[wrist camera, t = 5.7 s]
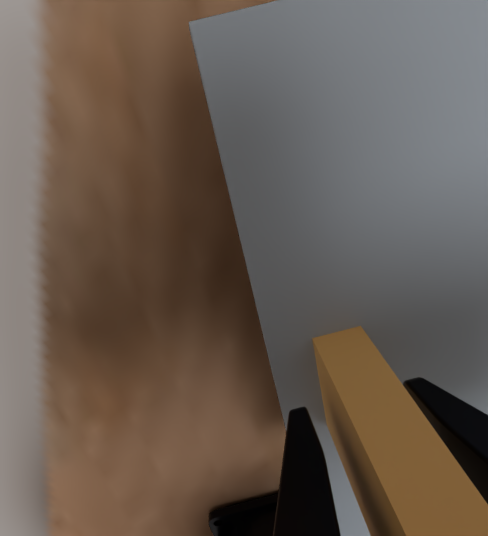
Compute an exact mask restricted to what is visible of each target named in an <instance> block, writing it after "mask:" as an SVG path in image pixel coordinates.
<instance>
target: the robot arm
mask: <svg viewBox="0 0 488 536" xmlns="http://www.w3.org/2000/svg"><path fill="white" fill-rule="evenodd" d="M403 386H404V387H405V389H406V390H407V391H408V393H409V394H410V396H411V397H412V399H413V400H414V401H415V403H416V404H417V406H418V407H419V408H420V410H421V411H422V413H423V414H424V415H425V417H426V418H427V420H428V421H429V422H430V424H431V425H432V427H433V428H434V429H435V431H436V432H437V434H438V435H439V437H440V438H441V439H442V441H443V442H444V444H445V445H446V446H447V448H448V449H449V451H450V452H451V453H452V455H453V456H454V458H455V459H456V460H457V462H458V463H459V465H460V466H461V467H462V469H463V470H464V472H465V473H466V475H467V476H468V477H469V479H470V480H471V482H472V483H473V484H474V486H475V487H476V489H477V490H478V491H479V493H480V494H481V496H482V497H483V498H484V500H485V501H486V503H487V504H488V415H487V414H486V413H484V412H482V411H480V410H479V409H477V408H475V407H473V406H472V405H470V404H468V403H466V402H465V401H463V400H461V399H459V398H458V397H456V396H454V395H452V394H451V393H449V392H447V391H445V390H444V389H442V388H440V387H438V386H437V385H435V384H433V383H431V382H430V381H428V380H426V379H424V378H422V377H416V378H412V379H408V380H405V381H404V382H403ZM209 526H210V528H211V531H212V533H213V535H214V536H341V534H340V529H339V524H338V519H337V514H336V509H335V504H334V499H333V494H332V489H331V484H330V479H329V474H328V469H327V464H326V459H325V455H324V452H323V449H322V446H321V443H320V440H319V438H318V435H317V433H316V430H315V427H314V425H313V422H312V420H311V417H310V415H309V412H308V410H307V408H306V407H299V408H295V409H292V410H290V411H289V415H288V423H287V431H286V439H285V446H284V454H283V462H282V470H281V477H280V485H279V493H278V494H276V495H272V496H268V497H264V498H260V499H256V500H253V501H249V502H245V503H241V504H237V505H233V506H229V507H226V508H222V509H218V510H215V511H212V512H211V513H210V514H209Z"/></svg>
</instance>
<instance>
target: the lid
mask: <svg viewBox="0 0 488 536" xmlns="http://www.w3.org/2000/svg"><path fill="white" fill-rule="evenodd" d="M189 30H190V34H191V38H192V42H193V46H194V51H195V55H196V59H197V63H198V67H199V71H200V75H201V80H202V84H203V88H204V92H205V96H206V100H207V105H208V109H209V113H210V117H211V121H212V125H213V129H214V134H215V138H216V142H217V146H218V150H219V154H220V158H221V163H222V167H223V171H224V175H225V179H226V183H227V188H228V192H229V196H230V200H231V204H232V208H233V212H234V217H235V221H236V225H237V229H238V233H239V237H240V241H241V246H242V250H243V254H244V258H245V262H246V266H247V271H248V275H249V279H250V283H251V287H252V291H253V295H254V300H255V304H256V308H257V312H258V316H259V320H260V324H261V329H262V333H263V337H264V341H265V345H266V349H267V354H268V358H269V362H270V366H271V370H272V374H273V378H274V383H275V387H276V391H277V395H278V399H279V403H280V407H281V412H282V416H283V420H284V424H285V428H286V431H287V423H288V415H289V411H290V410H292V409H295V408H299V407H306V408H307V410H308V412H309V415H310V417H311V420H312V422H313V425H314V427H315V430H316V433H317V435H318V438H319V440H320V443H321V446H322V449H323V452H324V455H325V459H326V464H327V469H328V474H329V479H330V484H331V489H332V494H333V499H334V504H335V509H336V514H337V519H338V524H339V529H340V534H341V536H488V504H487V503H486V501H485V500H484V498H483V497H482V496H481V494H480V493H479V491H478V490H477V489H476V487H475V486H474V484H473V483H472V482H471V480H470V479H469V477H468V476H467V475H466V473H465V472H464V470H463V469H462V467H461V466H460V465H459V463H458V462H457V460H456V459H455V458H454V456H453V455H452V453H451V452H450V451H449V449H448V448H447V446H446V445H445V444H444V442H443V441H442V439H441V438H440V437H439V435H438V434H437V432H436V431H435V429H434V428H433V427H432V425H431V424H430V422H429V421H428V420H427V418H426V417H425V415H424V414H423V413H422V411H421V410H420V408H419V407H418V406H417V404H416V403H415V401H414V400H413V399H412V397H411V396H410V394H409V393H408V391H407V390H406V389H405V387H404V386H403V382H404V381H405V380H408V379H412V378H416V377H422V378H424V379H426V380H428V381H430V382H431V383H433V384H435V385H437V386H438V387H440V388H442V389H444V390H445V391H447V392H449V393H451V394H452V395H454V396H456V397H458V398H459V399H461V400H463V401H465V402H466V403H468V404H470V405H472V406H473V407H475V408H477V409H479V410H480V411H482V412H484V413H486V414H487V415H488V0H277V1H273V2H269V3H265V4H261V5H257V6H252V7H248V8H244V9H240V10H236V11H232V12H228V13H224V14H219V15H215V16H211V17H207V18H203V19H199V20H195V21H191V22H189Z"/></svg>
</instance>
